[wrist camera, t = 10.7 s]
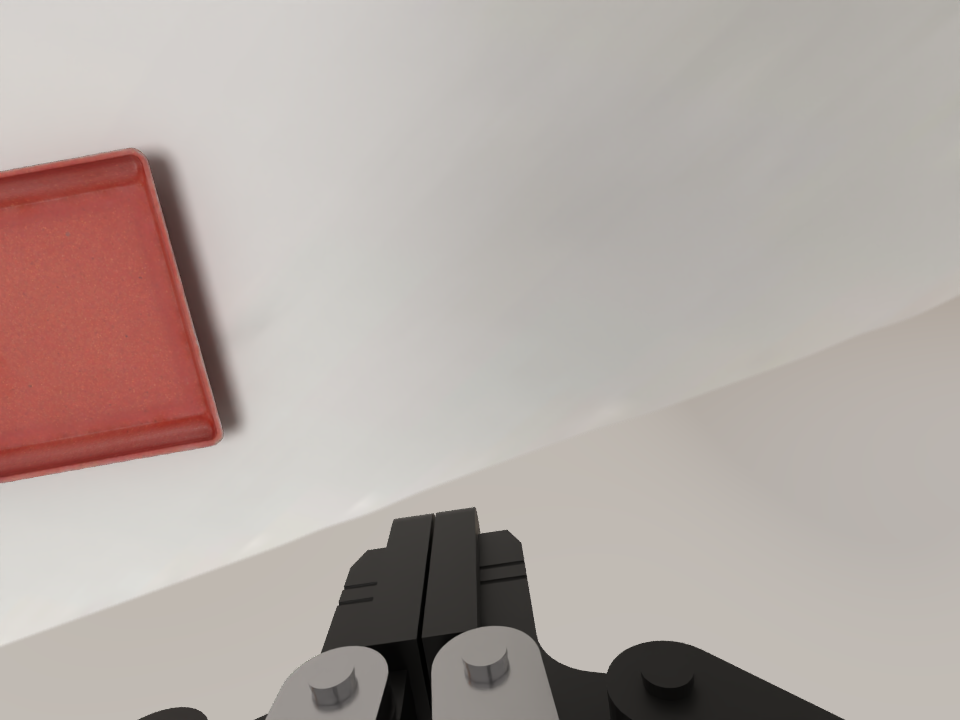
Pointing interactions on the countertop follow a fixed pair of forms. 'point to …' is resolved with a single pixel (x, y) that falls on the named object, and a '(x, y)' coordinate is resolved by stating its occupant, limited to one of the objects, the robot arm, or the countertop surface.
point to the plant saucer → (94, 322)
